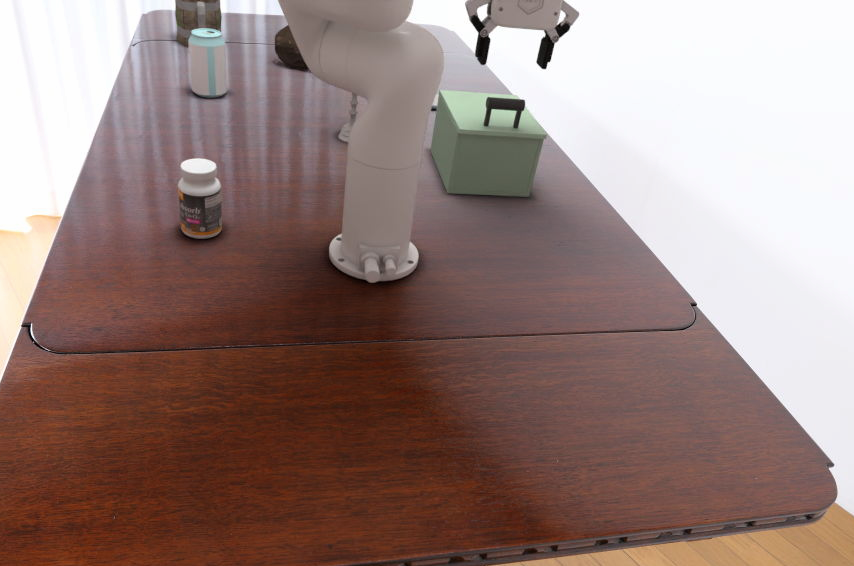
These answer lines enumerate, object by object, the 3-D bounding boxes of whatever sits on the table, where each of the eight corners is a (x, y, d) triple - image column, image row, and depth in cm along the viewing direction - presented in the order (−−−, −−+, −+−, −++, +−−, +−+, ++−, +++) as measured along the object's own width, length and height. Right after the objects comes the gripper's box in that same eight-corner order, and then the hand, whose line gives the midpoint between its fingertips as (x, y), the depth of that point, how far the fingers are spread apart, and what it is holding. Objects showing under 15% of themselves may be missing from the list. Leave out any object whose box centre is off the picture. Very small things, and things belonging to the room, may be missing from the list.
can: (189, 87, 141) (185, 26, 134) (224, 86, 144) (221, 27, 137) (194, 99, 136) (190, 37, 129) (229, 98, 139) (227, 37, 132)
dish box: (529, 197, 117) (544, 137, 111) (447, 193, 115) (457, 132, 109) (504, 154, 131) (516, 99, 125) (430, 150, 129) (438, 94, 123)
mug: (175, 34, 170) (171, -18, 162) (220, 36, 173) (218, -15, 166) (179, 54, 158) (175, -2, 151) (227, 55, 161) (225, 1, 154)
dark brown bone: (303, 81, 158) (322, 61, 183) (327, 42, 154) (343, 27, 178) (263, 52, 156) (287, 36, 180) (287, 11, 151) (308, 1, 175)
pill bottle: (172, 231, 95) (166, 166, 90) (200, 216, 100) (195, 152, 94) (204, 244, 94) (200, 178, 88) (231, 228, 98) (229, 164, 92)
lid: (546, 139, 110) (554, 106, 107) (458, 133, 108) (464, 100, 105) (516, 99, 125) (522, 69, 122) (438, 94, 122) (443, 63, 119)
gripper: (483, -62, 90) (462, 68, 101) (604, -50, 93) (572, 76, 104) (471, -71, 96) (452, 53, 107) (585, -59, 99) (556, 60, 109)
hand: (511, 64), depth 105 cm, fingers open, 9 cm apart
